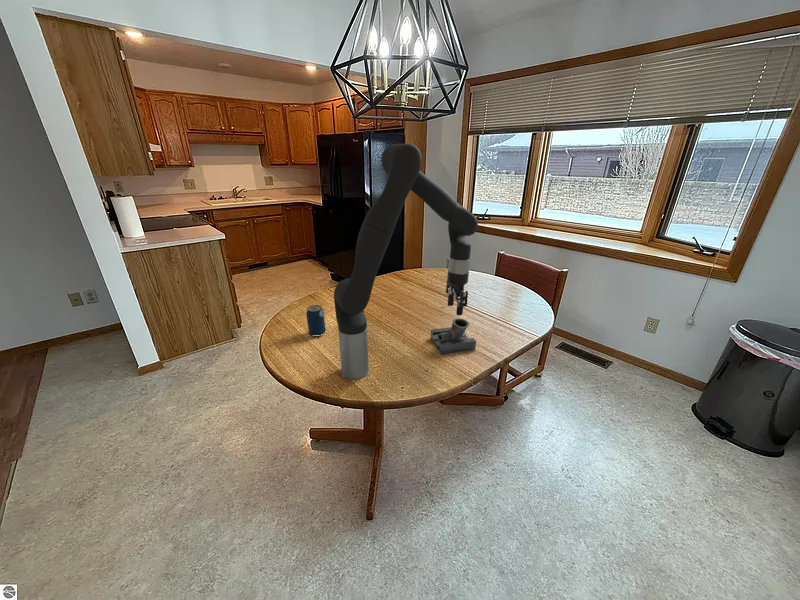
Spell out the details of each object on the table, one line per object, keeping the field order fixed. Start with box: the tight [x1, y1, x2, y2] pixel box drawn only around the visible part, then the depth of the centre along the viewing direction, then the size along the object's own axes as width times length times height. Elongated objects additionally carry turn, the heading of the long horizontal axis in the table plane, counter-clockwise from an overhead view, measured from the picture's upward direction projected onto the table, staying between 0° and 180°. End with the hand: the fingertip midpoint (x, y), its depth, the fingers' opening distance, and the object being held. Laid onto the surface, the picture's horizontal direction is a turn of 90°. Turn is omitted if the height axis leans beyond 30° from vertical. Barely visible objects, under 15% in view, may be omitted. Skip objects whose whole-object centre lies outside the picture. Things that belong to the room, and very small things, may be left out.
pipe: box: [438, 317, 470, 342], centre depth 126 cm, size 6×13×8 cm, turn 123°
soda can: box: [305, 304, 327, 336], centre depth 134 cm, size 7×7×12 cm
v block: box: [430, 326, 477, 355], centre depth 129 cm, size 14×12×4 cm
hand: (454, 310), depth 123 cm, fingers open, 8 cm apart
